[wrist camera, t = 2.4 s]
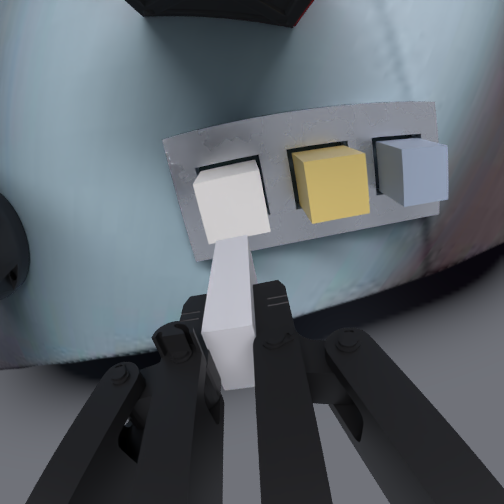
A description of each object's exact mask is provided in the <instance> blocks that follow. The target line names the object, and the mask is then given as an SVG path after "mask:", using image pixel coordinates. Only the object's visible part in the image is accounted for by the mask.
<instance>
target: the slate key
mask: <svg viewBox="0 0 504 504" xmlns="http://www.w3.org/2000/svg"><path fill="white" fill-rule="evenodd" d="M376 152H377V162H378V175H379V190H380V191H381V192H382V193H384V194H385V195H387V196H388V197H390V198H391V199H393V200H394V201H396V202H397V203H399V204H400V205H402V206H403V207H407V206H413V205H419V204H425V203H430V202H436V201H442V200H448V147H447V145H443V144H440V143H436V142H432V141H428V140H424V139H420V138H409V139H397V140H386V141H376Z"/></svg>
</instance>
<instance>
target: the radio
mask: <svg viewBox="0 0 504 504" xmlns="http://www.w3.org/2000/svg"><path fill="white" fill-rule="evenodd" d="M125 1H126V2H127V3H128V4H130V5H131V6H132V7H133V8H134V9H135V10H136V11H137V12H138V13H140V14H141V15H142V16H143V17H146V16H199V17H216V18H228V19H238V20H247V21H254V22H261V23H268V24H274V25H280V26H285V27H290V28H293V26H296V24H297V23H298V21H299V20H300V19H301V17H302V16H303V15H304V13H305V12H306V10H307V9H308V8H309V6H310V5H311V4H312V2H313V1H314V0H125Z"/></svg>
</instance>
